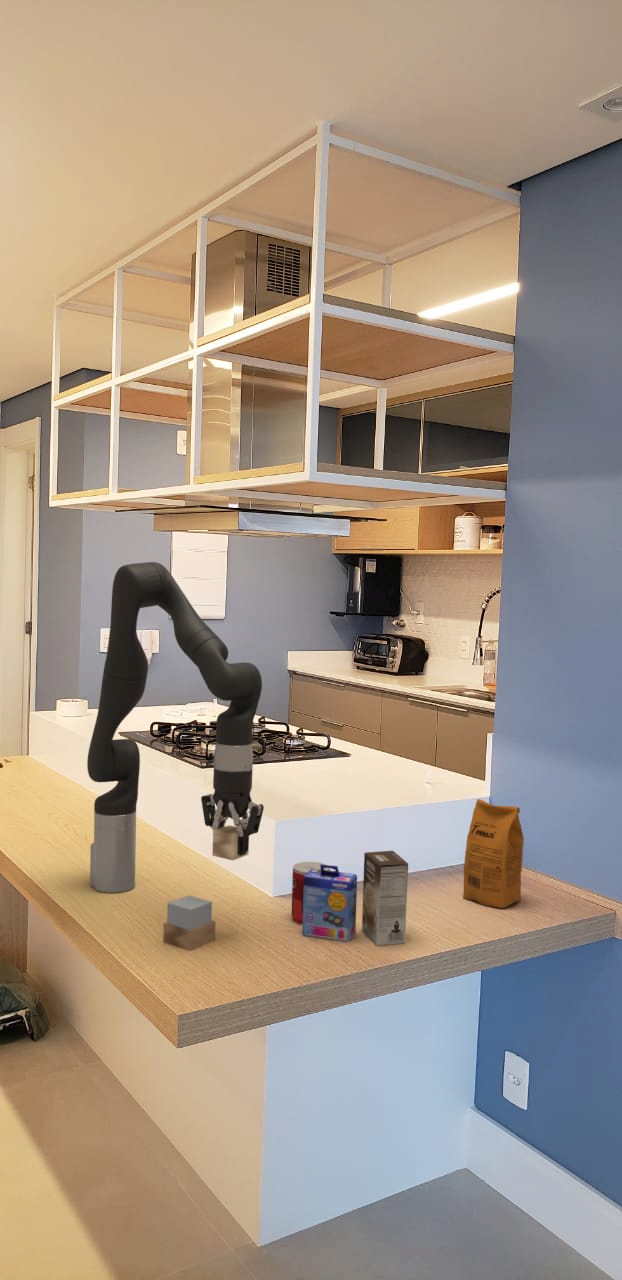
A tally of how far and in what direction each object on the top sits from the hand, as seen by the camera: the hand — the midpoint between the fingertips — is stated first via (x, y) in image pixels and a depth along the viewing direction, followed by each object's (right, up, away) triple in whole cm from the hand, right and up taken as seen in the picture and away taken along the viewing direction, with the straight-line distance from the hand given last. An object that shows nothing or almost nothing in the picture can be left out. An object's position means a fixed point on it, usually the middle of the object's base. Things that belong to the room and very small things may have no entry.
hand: (230, 851), depth 194 cm
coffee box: (+30, -18, +3) cm, 35 cm away
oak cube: (0, -1, 0) cm, 1 cm away
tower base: (-8, -17, -2) cm, 19 cm away
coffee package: (+56, -17, +28) cm, 65 cm away
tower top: (-8, -13, -3) cm, 15 cm away
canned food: (+15, -17, +12) cm, 26 cm away
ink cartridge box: (+19, -17, +3) cm, 26 cm away
